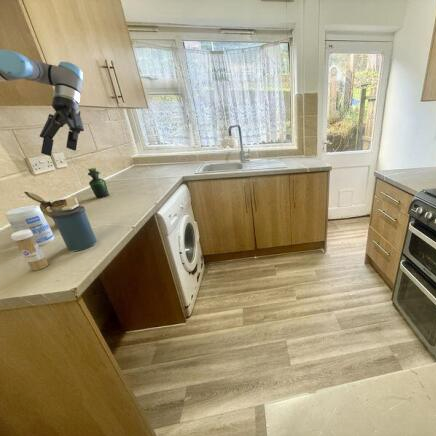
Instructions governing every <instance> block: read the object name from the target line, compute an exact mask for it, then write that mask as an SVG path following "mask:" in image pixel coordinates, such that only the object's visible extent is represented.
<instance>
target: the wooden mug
mask: <svg viewBox="0 0 436 436" xmlns="http://www.w3.org/2000/svg"><path fill="white" fill-rule="evenodd" d="M23 193H24V194H25V195H26V196H27V197H28V198H29V199H32V200H33V201H35V202H37V203H40V204H39V208H40V209H41V211H42V213H43V215H46V216H47V217H49V218H51V219H52V220H53V222H54V226H55V227H57V225H56V222H55V220H54V218H52V216H51V213H52V212H54V211H56V210H59V209H61V208H63V207H65V206H67V202H66V200H65V199H66V198H61V199H57V200H54V201H46V200H44V199H43V198H42V197H40V196H39V195H37V194H36V193H33V192H30V191H24V192H23ZM48 208H49V210H50V211H48V210H47V209H48Z"/></svg>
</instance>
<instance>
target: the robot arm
mask: <svg viewBox="0 0 436 436" xmlns="http://www.w3.org/2000/svg"><path fill="white" fill-rule="evenodd" d="M83 79H84V72H83V70H81V68H80V67H79V66H77V65H75V64H74V63H72V62H69V61H60V62H59V63H58V64H57V65H55V64H50V63H46V62H43V61H40V60H37V59H33V58H31V57H29V56H26V55H24V54H22V53H20V52H17V51H16V50H15V51H14V50H12V49H11V50H10V49H0V82H8V81H17V80H18V81H19V80H25V81H29V82H30V81H31V82H35V83H38V84H39V83H40V84H44V85H49V86H52V87H54V89H53V95H52V96H53V98H52V100H51V101H52V102H51V107H52V109H53V110H54V111H55V112H54V114H51V113H49V114H48V116H47V119H46V122H45V124H44V126H43V128H42V130H41V132H40V134H39V138H42V144H41V145H42V146H41V151H40V153H41V154H42V155H45V156H48V157H51V156H52V151H53V146H54V141H55V140H54V138H55V136H56V135H57V133H59V130H60V129H61V128H63V127H64V126H65V125H67V127H68V132H67V140H66V145H65V146H66V147H65V148H66V149H69V150H72V151H77V145H78V140H79V134H81V132H84V131H85V128H84V125H83V121H82V118H81V117H82V116H81V110H79V108H80V107H79V106H80V103H81V101H80V100H81V93H82V88H83V84H84V81H83Z"/></svg>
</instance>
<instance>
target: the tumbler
mask: <svg viewBox="0 0 436 436" xmlns="http://www.w3.org/2000/svg"><path fill="white" fill-rule="evenodd" d="M51 212H52V211H51ZM51 216H52V218H54V220H55V222H56V225H57V226H56V227H57V229H58V231H59V233H60V235H61V238H62V240H63V243H64V245H65V246H66V248H67V250H68V251H73V253H79V252H83V251H85V250H88V249H90V248H93V247H94V246H95V245H96V243H97V238H96V235H95V233H94V231H93V228H92V226H91V223H90V221H89V217H88V216H87V213H86V208H85V206H83V205H79V206H78V207H76V208H74V209H72V210H62V209H59V210H56V211H54V212H52V213H51ZM52 218H51V219H52ZM54 220H53V221H54ZM55 222H54V223H55Z"/></svg>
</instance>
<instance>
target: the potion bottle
mask: <svg viewBox="0 0 436 436" xmlns="http://www.w3.org/2000/svg"><path fill="white" fill-rule="evenodd" d="M87 171H89V172H88V173H87V176H90V177H91V178H92V179H91V180H90V181H89V182H88V185H89V186H90V188H91V190H92V192H93V194H94V196H95V198H96V199H103V198H107V197H109V196H110V194H109V189H108V186H107V183H106V180H105V179H104V178H100V176H99V175H100V174H101V172H100V171H99V170H97V168H96V167H90V168H88V169H87Z"/></svg>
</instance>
